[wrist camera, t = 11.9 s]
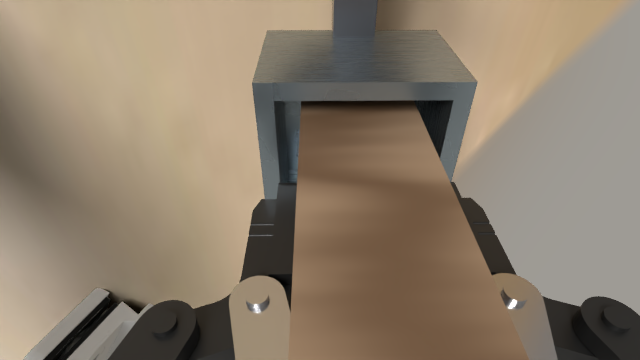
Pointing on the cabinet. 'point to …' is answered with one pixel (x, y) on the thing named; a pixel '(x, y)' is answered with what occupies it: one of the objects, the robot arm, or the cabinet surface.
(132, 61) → the cabinet surface
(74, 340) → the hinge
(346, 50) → the cup bracket
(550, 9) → the cabinet surface
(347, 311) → the rail post
